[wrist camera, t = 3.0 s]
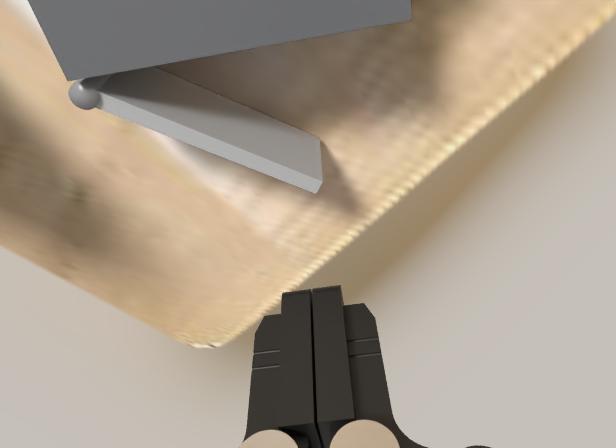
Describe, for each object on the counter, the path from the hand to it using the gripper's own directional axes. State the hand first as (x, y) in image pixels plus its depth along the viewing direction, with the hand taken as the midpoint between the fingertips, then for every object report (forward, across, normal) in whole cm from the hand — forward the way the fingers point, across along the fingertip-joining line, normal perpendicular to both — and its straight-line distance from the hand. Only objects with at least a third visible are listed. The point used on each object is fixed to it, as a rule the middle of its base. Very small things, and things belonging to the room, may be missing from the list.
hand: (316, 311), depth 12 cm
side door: (+16, +5, 0) cm, 17 cm away
